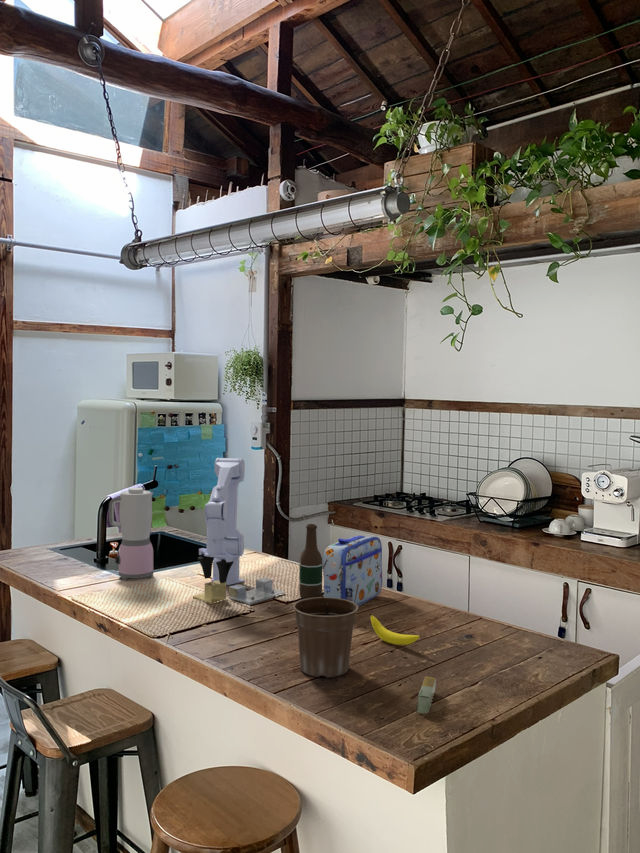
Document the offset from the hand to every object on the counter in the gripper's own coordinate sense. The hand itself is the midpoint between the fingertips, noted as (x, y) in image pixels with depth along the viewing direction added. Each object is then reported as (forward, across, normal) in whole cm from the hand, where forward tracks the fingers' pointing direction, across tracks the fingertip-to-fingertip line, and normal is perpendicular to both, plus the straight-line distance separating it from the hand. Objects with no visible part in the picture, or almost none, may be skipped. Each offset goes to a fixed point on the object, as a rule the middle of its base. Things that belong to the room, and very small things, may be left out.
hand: (215, 580), depth 241 cm
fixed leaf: (+7, +6, +13) cm, 16 cm away
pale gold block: (+7, -3, 0) cm, 8 cm away
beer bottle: (+7, +18, +26) cm, 32 cm away
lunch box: (+7, +33, +30) cm, 45 cm away
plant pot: (+7, +63, -17) cm, 66 cm away
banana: (+7, +65, +9) cm, 66 cm away
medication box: (+8, +92, -15) cm, 94 cm away
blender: (+7, -43, -3) cm, 44 cm away
